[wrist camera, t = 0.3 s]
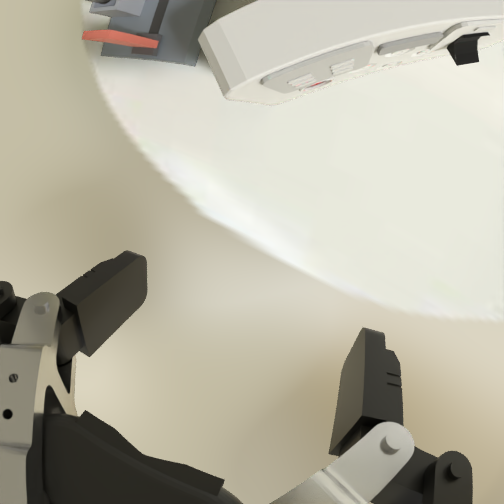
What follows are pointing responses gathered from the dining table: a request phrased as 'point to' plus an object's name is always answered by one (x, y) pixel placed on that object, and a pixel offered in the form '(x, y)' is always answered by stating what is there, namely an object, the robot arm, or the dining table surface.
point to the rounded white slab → (339, 42)
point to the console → (158, 26)
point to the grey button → (100, 1)
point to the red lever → (127, 40)
